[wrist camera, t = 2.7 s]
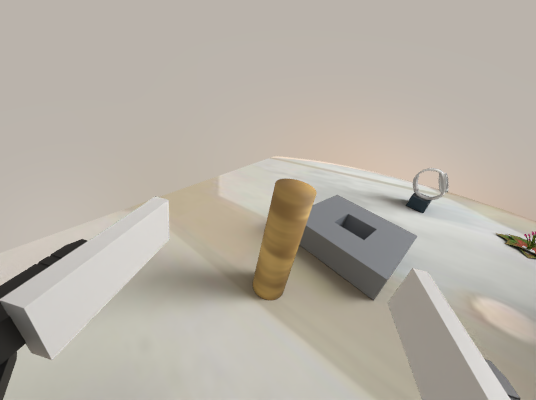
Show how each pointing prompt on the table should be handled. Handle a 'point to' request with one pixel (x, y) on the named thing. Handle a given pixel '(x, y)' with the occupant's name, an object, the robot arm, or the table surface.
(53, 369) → the table surface
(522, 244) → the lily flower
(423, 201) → the watch
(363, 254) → the hole block
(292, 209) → the ochre pin
